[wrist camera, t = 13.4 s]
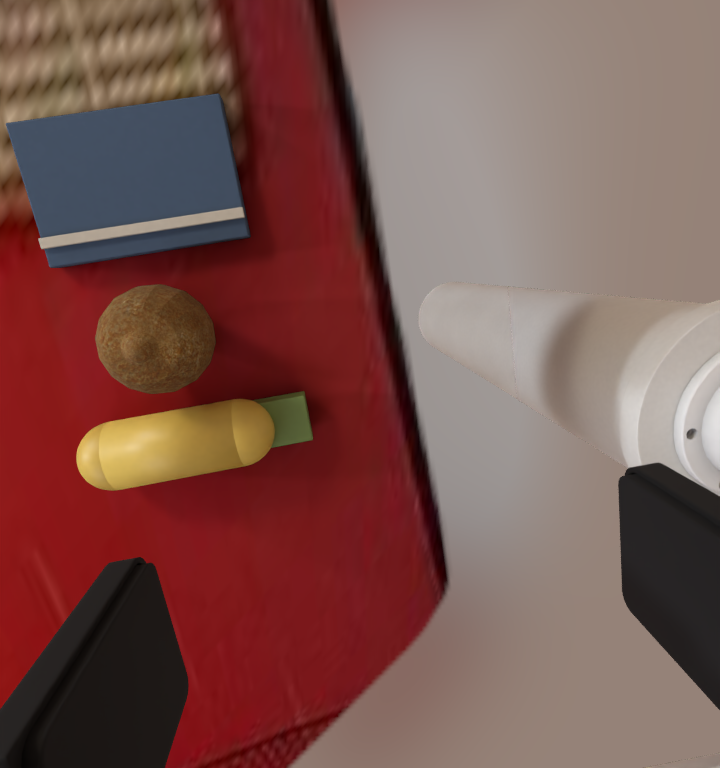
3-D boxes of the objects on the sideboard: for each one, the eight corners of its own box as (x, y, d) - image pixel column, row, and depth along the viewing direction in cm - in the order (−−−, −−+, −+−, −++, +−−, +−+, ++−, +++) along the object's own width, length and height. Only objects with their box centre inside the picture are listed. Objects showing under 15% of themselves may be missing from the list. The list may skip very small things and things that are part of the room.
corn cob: (302, 380, 34) (302, 396, 29) (314, 439, 35) (315, 463, 30) (86, 419, 33) (52, 441, 28) (104, 478, 34) (75, 509, 29)
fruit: (112, 297, 31) (46, 307, 23) (206, 270, 31) (172, 270, 23) (149, 388, 33) (100, 425, 25) (239, 361, 33) (217, 390, 25)
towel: (222, 99, 29) (218, 90, 28) (251, 237, 31) (248, 235, 30) (17, 128, 28) (1, 121, 27) (59, 268, 30) (46, 267, 29)
